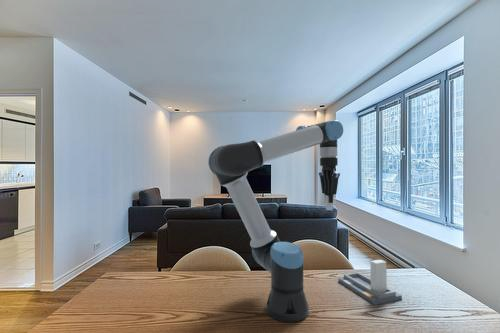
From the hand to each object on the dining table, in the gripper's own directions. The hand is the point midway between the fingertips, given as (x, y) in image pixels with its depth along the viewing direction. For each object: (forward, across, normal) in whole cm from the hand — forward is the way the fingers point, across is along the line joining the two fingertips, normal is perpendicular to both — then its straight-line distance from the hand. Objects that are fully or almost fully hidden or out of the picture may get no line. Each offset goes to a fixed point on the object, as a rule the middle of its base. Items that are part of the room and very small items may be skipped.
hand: (329, 209), depth 122 cm
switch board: (+32, -11, -11) cm, 36 cm away
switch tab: (+31, -17, -11) cm, 37 cm away
